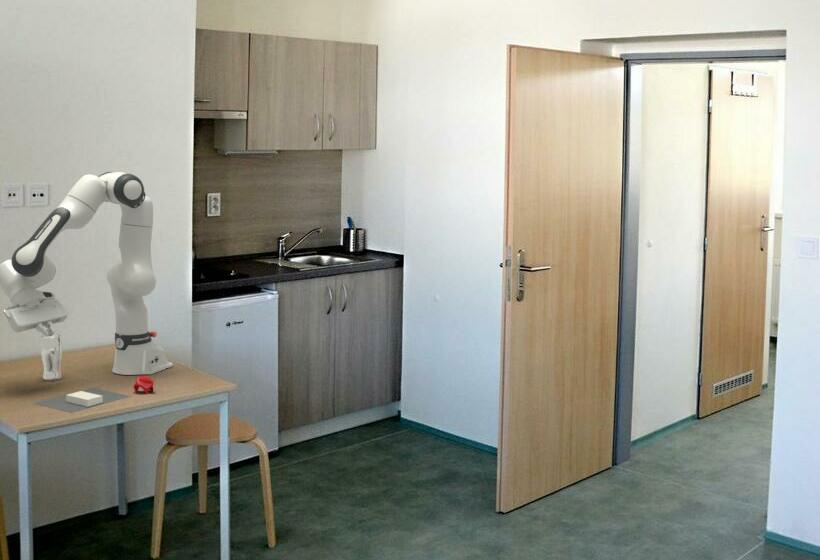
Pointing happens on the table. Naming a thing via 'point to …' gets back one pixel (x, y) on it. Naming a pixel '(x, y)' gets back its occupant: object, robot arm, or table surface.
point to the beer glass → (51, 356)
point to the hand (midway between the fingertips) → (50, 335)
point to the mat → (62, 405)
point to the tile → (84, 399)
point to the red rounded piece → (143, 384)
